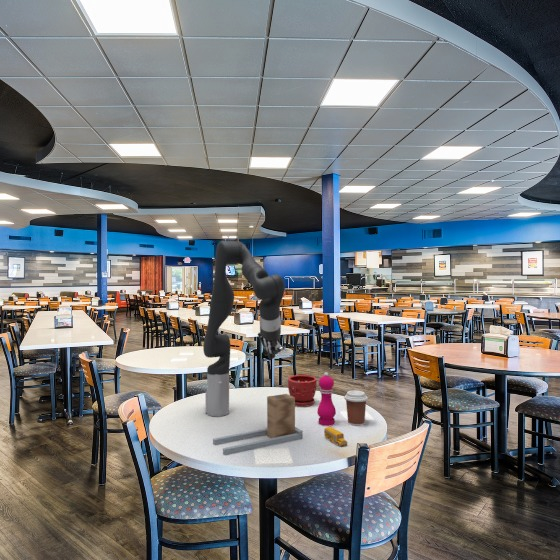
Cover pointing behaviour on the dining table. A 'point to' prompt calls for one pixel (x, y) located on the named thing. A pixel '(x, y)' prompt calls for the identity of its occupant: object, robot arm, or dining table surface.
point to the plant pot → (302, 389)
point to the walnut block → (280, 415)
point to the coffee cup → (356, 407)
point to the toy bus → (335, 436)
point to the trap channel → (254, 444)
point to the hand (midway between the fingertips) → (271, 357)
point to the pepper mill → (326, 401)
